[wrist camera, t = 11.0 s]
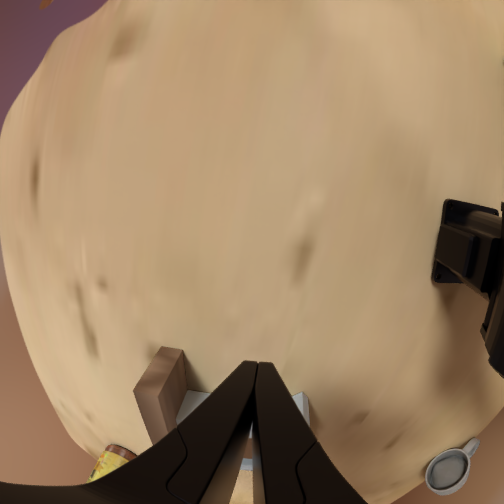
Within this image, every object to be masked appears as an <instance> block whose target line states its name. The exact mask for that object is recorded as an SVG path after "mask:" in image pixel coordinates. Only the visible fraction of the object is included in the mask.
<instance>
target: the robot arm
mask: <svg viewBox="0 0 504 504" xmlns="http://www.w3.org/2000/svg"><path fill="white" fill-rule="evenodd" d="M449 203H450V204H451V207H450V208H449ZM501 211H502V217H499V213H498V210H496V209H493V208H489V207H485V206H480V205H476V204H472V203H467V202H462V201H457V200H453V199H446V200H445V201H444V204H443V213H442V221H441V226H440V231H439V237H438V243H437V249H436V254H435V262H434V267H433V271H432V279H433V280H434V281H435V282H437V283H465V284H466V285H467V286H469V287H470V288H472V289H473V290H474V291H476V292H477V293H478V294H480V295H481V296H482V297H483V298H485V299H486V300H487V301H489V305H488V309H487V313H486V317H485V320H484V323H483V324H482V326H481V330H480V332H481V334H482V337H483V339H484V341H485V346H486V349H487V351H488V354H489V356H490V357H489V359H488V361H489V363H490V365H491V366H492V367H493V369H494V370H495V371H496V372H497V373H499V375H500V376H501V377H503V378H504V202H501ZM438 274H439V276H438V277H437V278H436V276H437V275H438ZM251 427H252V468H253V503H254V504H368V503H367V502H366V501H365V500H364V499H363V498H362V497H361V496H360V495H359V494H358V493H357V492H356V490H355V489H354V488H353V487H352V486H351V485H350V484H349V483H348V482H347V481H346V479H345V478H344V477H343V476H342V475H341V473H340V472H339V471H338V470H337V468H336V467H335V466H334V464H333V463H332V462H331V460H330V459H329V457H328V456H327V454H326V453H325V451H324V450H323V448H322V446H321V445H320V443H319V442H317V438H316V437H315V435H314V433H313V432H312V430H311V428H310V427H309V425H308V423H307V422H306V420H305V418H304V417H303V415H302V413H301V411H300V410H299V408H298V406H297V405H296V403H295V401H294V399H293V398H292V396H291V394H290V393H289V391H288V389H287V387H286V386H285V384H284V382H283V380H282V379H281V377H280V375H279V373H278V371H277V370H276V368H275V366H274V364H273V363H271V362H259V363H257V362H256V361H247V360H245V361H243V362H242V363H241V364H240V365H239V366H238V367H237V368H236V369H235V370H234V371H233V372H232V373H231V374H230V375H229V376H228V377H227V378H226V379H225V380H224V381H223V382H222V383H221V384H220V385H219V386H218V387H217V388H216V389H215V390H214V391H213V392H212V393H211V394H210V395H209V396H208V397H207V398H206V399H205V400H204V401H203V402H202V403H201V404H199V405H198V406H197V407H196V408H195V409H194V410H193V411H192V412H191V413H190V414H189V415H188V416H187V417H186V418H184V419H183V420H182V421H181V422H180V423H179V424H178V425H177V426H176V428H173V429H172V430H171V431H170V432H169V433H168V434H167V435H165V436H164V437H163V438H162V439H160V440H159V441H158V442H157V443H156V444H154V445H153V446H152V447H150V448H149V449H147V450H146V451H144V452H143V453H141V454H140V455H138V456H137V457H135V458H134V459H132V460H130V461H129V462H127V463H125V464H124V465H122V466H120V467H118V468H117V469H115V470H113V471H111V472H110V473H108V474H106V475H104V476H102V477H101V478H99V479H96V480H94V481H91V482H89V483H85V484H81V485H73V486H39V485H22V484H13V483H6V482H1V481H0V504H229V502H230V499H231V496H232V493H233V490H234V487H235V483H236V480H237V477H238V474H239V470H240V467H241V464H242V460H243V457H244V454H245V450H246V447H247V443H248V440H249V436H250V432H251Z"/></svg>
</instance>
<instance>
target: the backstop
mask: <svg viewBox="0 0 504 504" xmlns="http://www.w3.org/2000/svg"><path fill="white" fill-rule="evenodd" d="M187 391H188V388H187V381H186V374H185V366H184V359H183V350H180V349H174V348H168V347H162V346H161V348H160V349H159V351H158V352H157V354H156V355H155V357H154V358H153V360H152V361H151V363H150V365H149V366H148V368H147V369H146V371H145V372H144V374H143V375H142V377H141V379H140V380H139V382H138V383H137V385H136V386H135V388H134V390H133V392H134V395H135V398H136V401H137V404H138V407H139V410H140V413H141V416H142V418H143V421H144V424H145V426H146V429H147V431H148V434H149V437H150V439H151V441H152V444H153V445H154V444H156V443H157V442H158V441H159V440H160V439H162V438H163V437H164V436H165V435H167V434H168V433H169V432H170V431H171V430H172V429H173V428H176V426H177V422H176V417H177V415H178V412H179V410H180V407H181V405H182V403H183V400H184V398H185V395H186V393H187Z"/></svg>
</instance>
